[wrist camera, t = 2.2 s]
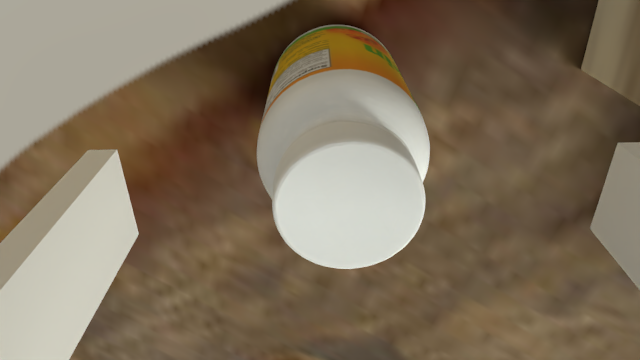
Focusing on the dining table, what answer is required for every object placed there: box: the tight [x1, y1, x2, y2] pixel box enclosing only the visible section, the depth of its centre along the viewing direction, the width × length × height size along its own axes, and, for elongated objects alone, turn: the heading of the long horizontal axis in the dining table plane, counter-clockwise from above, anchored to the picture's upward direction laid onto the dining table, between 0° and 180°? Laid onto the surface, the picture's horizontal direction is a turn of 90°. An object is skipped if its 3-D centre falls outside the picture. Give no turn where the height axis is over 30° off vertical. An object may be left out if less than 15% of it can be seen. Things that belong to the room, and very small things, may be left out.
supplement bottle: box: [257, 25, 430, 269], centre depth 17 cm, size 5×5×10 cm
